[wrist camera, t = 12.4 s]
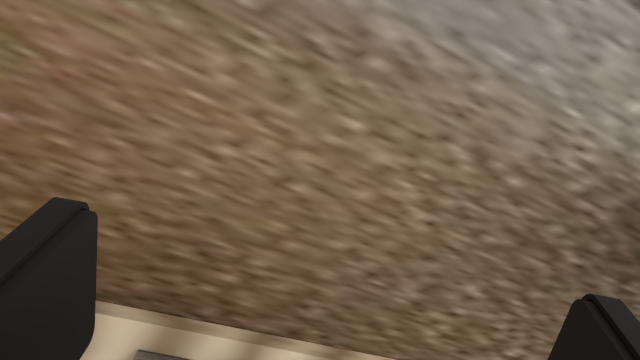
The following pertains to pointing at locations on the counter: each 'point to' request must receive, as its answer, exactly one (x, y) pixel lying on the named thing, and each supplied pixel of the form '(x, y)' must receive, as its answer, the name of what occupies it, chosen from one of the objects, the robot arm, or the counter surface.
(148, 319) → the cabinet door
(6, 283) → the robot arm
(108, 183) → the counter surface
